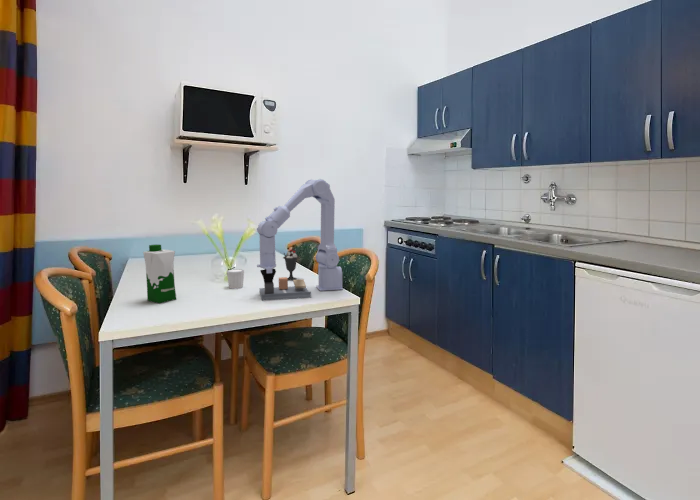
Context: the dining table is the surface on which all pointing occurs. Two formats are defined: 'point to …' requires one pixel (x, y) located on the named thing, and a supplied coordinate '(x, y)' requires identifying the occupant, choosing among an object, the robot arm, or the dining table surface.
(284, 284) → the terracotta knob
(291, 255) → the sundae
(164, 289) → the milk carton
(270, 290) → the black knob
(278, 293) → the panel
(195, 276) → the dining table surface
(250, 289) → the dining table surface
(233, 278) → the grey tapered cup
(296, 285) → the block
